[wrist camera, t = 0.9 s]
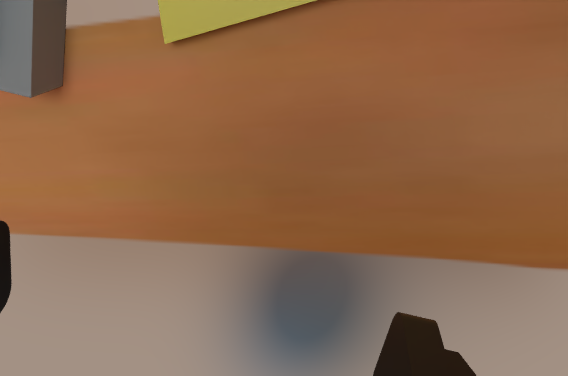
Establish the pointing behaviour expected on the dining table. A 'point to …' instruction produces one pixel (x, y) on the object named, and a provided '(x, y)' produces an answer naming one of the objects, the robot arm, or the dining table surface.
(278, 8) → the flat olive board
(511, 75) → the dining table surface
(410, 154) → the dining table surface
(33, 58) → the power strip
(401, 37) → the dining table surface
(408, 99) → the dining table surface
